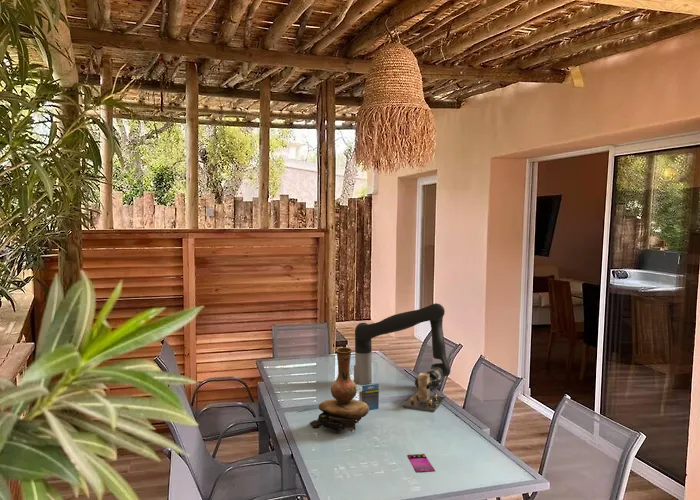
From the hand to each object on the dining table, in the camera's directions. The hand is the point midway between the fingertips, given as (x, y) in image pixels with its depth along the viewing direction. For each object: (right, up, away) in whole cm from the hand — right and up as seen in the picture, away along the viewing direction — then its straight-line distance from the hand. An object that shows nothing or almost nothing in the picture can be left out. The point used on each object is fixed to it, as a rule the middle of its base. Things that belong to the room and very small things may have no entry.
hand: (422, 386), depth 269 cm
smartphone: (-9, -13, -65) cm, 67 cm away
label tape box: (-26, -10, -4) cm, 28 cm away
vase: (-40, -11, -27) cm, 50 cm away
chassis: (+1, -9, +3) cm, 10 cm away
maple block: (+1, -6, +3) cm, 7 cm away
